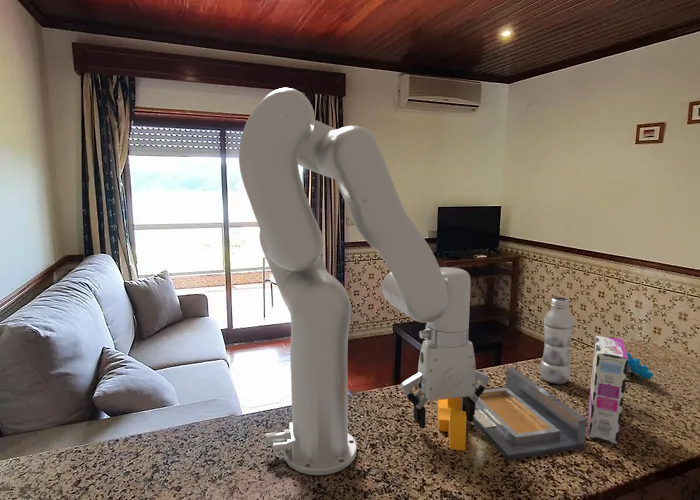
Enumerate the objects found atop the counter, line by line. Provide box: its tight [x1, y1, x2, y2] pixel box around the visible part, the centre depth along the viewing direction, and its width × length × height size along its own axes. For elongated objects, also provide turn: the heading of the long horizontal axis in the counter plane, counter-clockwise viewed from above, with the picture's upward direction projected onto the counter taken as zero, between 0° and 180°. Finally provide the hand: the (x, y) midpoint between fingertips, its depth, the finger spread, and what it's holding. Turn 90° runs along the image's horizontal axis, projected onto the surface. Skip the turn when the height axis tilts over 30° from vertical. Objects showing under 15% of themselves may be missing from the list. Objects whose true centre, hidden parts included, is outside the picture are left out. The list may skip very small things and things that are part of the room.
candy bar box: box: [587, 335, 628, 445], centre depth 80 cm, size 11×5×16 cm, turn 152°
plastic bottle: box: [539, 296, 575, 385], centre depth 99 cm, size 6×7×20 cm
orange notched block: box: [437, 398, 468, 451], centre depth 80 cm, size 12×4×6 cm, turn 170°
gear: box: [626, 351, 654, 381], centre depth 102 cm, size 11×6×10 cm
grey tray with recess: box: [461, 366, 588, 461], centre depth 84 cm, size 15×22×6 cm
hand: (444, 421), depth 81 cm, fingers open, 9 cm apart
